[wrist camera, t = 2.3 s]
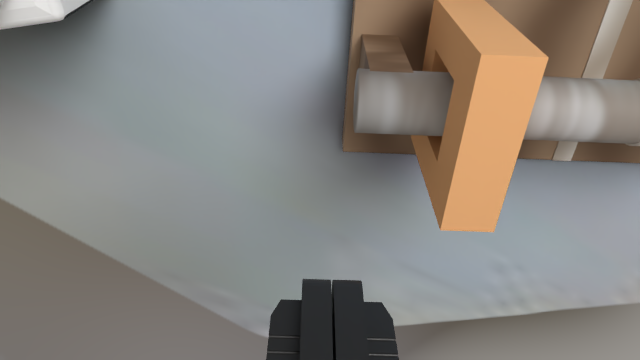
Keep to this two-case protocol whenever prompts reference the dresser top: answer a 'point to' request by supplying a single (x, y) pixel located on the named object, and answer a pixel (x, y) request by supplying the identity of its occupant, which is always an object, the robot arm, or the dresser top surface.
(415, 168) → the dresser top surface
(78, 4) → the medicine bottle
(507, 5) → the pipe stand
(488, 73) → the collar
